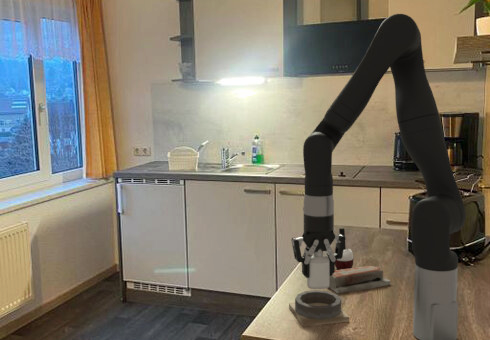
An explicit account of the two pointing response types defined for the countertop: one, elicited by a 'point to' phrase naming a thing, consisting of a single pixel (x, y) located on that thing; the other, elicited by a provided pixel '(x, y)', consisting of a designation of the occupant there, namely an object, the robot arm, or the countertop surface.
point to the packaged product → (357, 279)
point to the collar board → (318, 308)
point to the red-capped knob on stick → (345, 256)
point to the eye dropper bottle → (319, 271)
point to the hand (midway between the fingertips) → (318, 275)
